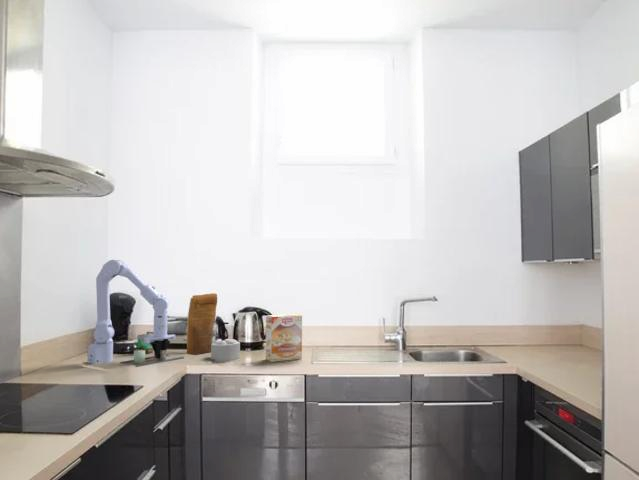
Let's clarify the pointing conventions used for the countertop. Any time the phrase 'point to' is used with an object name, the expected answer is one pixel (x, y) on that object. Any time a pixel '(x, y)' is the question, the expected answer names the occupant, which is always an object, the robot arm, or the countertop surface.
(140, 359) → the tapered cylinder
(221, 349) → the lumpy-topped squat cylinder
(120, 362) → the track
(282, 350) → the coffeecake box
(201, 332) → the pancake mix bag
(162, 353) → the brown piece
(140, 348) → the food container
